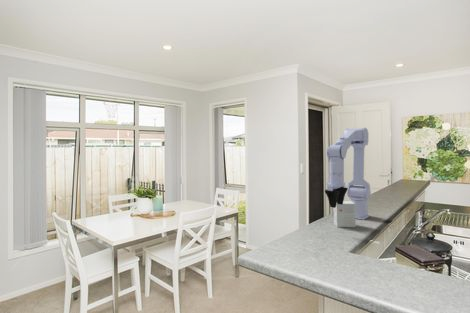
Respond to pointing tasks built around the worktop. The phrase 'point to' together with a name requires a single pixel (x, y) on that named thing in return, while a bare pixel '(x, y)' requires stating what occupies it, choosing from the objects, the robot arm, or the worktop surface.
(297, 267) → the worktop surface
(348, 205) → the small box
